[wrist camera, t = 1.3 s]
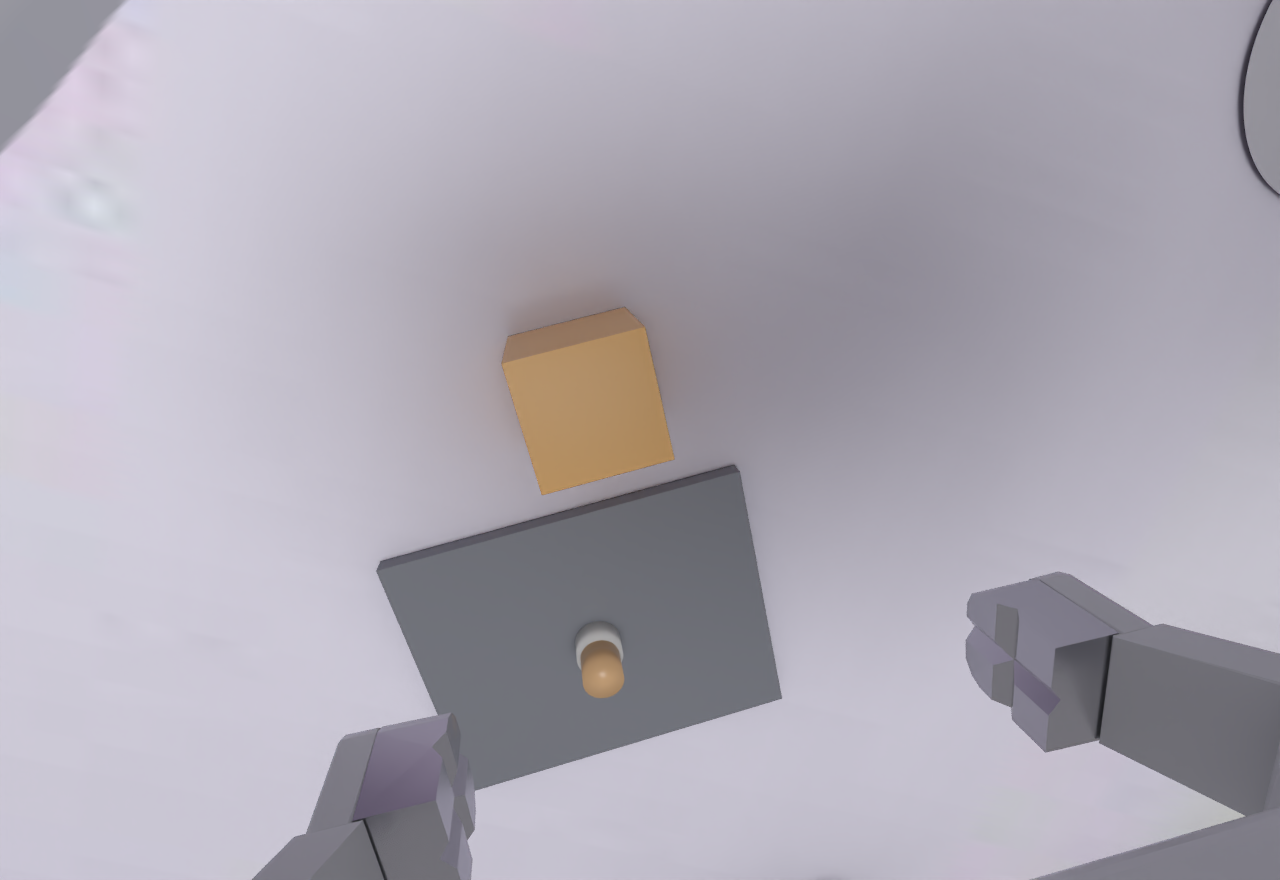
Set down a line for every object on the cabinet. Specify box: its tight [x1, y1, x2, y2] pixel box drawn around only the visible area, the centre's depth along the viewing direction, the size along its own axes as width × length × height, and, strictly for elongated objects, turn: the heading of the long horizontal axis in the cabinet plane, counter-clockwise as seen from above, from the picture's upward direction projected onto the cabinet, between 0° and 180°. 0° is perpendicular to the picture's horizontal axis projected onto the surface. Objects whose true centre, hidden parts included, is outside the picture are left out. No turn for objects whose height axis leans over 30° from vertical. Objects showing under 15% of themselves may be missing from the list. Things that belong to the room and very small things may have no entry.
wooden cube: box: [501, 307, 674, 495], centre depth 30 cm, size 6×6×6 cm
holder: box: [376, 465, 782, 790], centre depth 36 cm, size 20×16×4 cm
